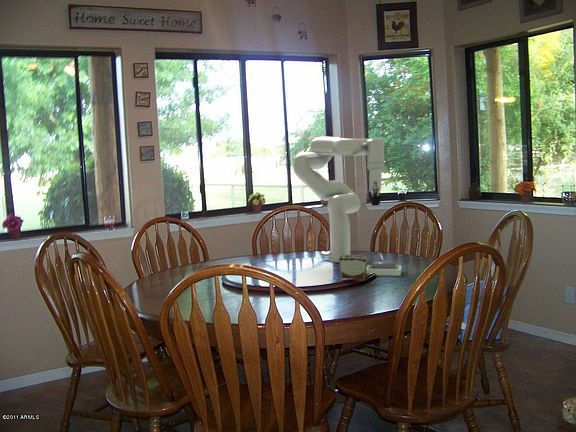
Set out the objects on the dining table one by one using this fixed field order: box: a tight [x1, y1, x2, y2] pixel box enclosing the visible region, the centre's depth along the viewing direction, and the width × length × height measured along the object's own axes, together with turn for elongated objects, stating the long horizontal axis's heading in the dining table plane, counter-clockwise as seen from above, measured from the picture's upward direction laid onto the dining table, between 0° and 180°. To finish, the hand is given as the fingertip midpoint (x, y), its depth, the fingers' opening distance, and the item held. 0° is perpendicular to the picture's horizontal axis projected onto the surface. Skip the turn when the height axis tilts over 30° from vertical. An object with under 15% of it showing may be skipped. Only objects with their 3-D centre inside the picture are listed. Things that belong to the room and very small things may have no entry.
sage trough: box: [365, 264, 402, 277], centre depth 279 cm, size 15×9×3 cm, turn 79°
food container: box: [338, 254, 369, 279], centre depth 268 cm, size 12×6×10 cm, turn 71°
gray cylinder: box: [371, 261, 397, 269], centre depth 279 cm, size 11×4×4 cm, turn 79°
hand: (376, 204), depth 292 cm, fingers open, 9 cm apart
